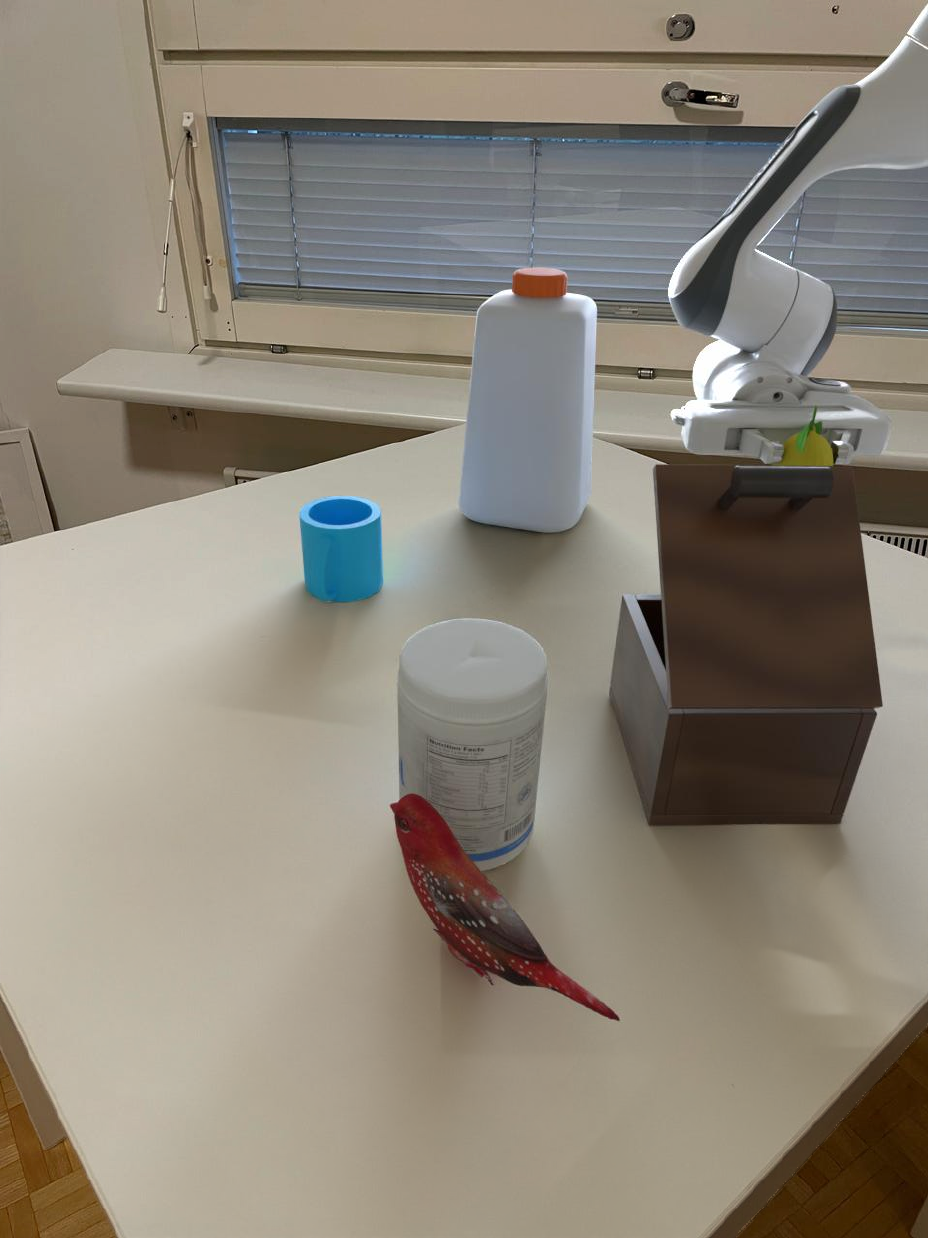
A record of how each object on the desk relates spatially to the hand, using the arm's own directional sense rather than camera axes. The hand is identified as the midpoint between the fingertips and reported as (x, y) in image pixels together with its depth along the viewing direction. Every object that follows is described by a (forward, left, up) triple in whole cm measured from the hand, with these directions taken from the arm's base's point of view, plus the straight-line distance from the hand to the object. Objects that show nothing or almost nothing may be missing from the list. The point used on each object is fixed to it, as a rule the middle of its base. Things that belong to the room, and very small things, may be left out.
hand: (810, 456), depth 82 cm
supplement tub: (+33, +32, -16) cm, 49 cm away
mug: (+45, -2, -16) cm, 48 cm away
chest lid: (+13, +25, 0) cm, 29 cm away
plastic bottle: (+24, -24, -16) cm, 37 cm away
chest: (+13, +24, -16) cm, 31 cm away
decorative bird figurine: (+32, +44, -16) cm, 57 cm away
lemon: (0, -1, -6) cm, 6 cm away
